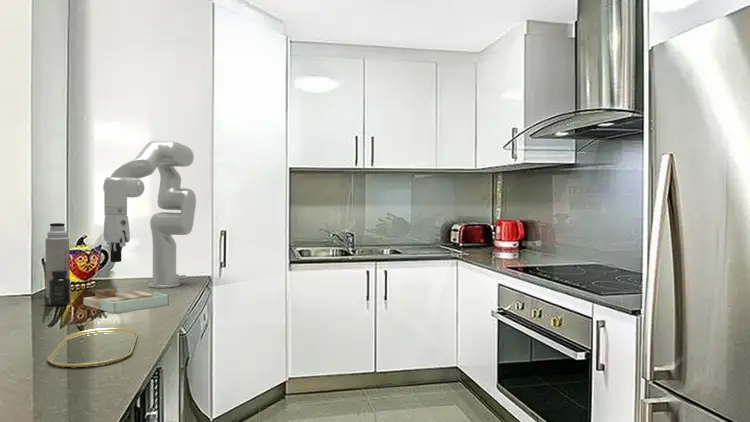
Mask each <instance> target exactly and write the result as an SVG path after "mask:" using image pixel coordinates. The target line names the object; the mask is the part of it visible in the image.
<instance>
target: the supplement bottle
mask: <svg viewBox="0 0 750 422" xmlns="http://www.w3.org/2000/svg"><path fill="white" fill-rule="evenodd" d="M52 277H53V278H52V279H50V280H49V298H48V304H49V306H53V307H57V306H58V307H59V306H67V305H70V304H71V302H72V301H71V300H72V299H71V294H72V293H71V279H69V278H67V270H56V271H52Z"/></svg>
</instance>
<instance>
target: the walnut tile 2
mask: <svg viewBox="0 0 750 422" xmlns="http://www.w3.org/2000/svg"><path fill="white" fill-rule="evenodd" d="M94 293H95V297H97V298H101V299H104V298H111V297H116V293H117V289H114V288H101V289H94Z"/></svg>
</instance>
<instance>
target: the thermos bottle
mask: <svg viewBox="0 0 750 422" xmlns="http://www.w3.org/2000/svg"><path fill="white" fill-rule="evenodd" d="M49 226H50V228H49V229H50V230H49V231H48V232H47V234H46V235H47V237H46V238H45V298H47V299H49V280H50V279H52V278H53V277H52V271H56V270H67V278H69V279H70V275H71V274H70V273H71V271H70V268H71V267H70V237H69V236H68V231H66V230H65V229H66V227H65V223H62V222H61V223H60V222H57V223H56V222H55V223H50V224H49ZM70 280H71V279H70Z"/></svg>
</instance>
